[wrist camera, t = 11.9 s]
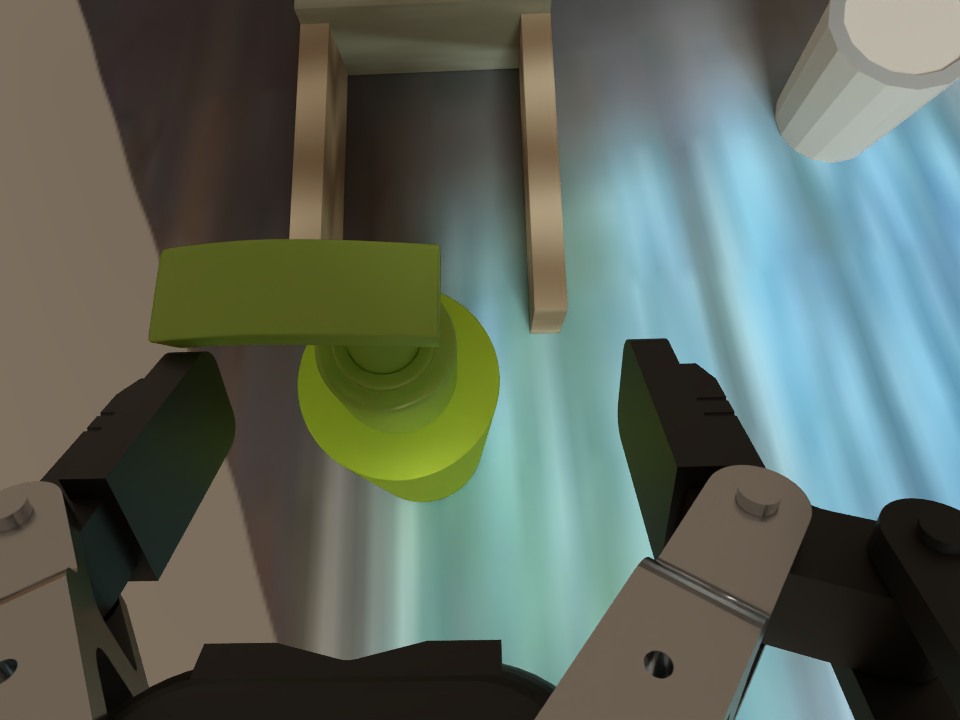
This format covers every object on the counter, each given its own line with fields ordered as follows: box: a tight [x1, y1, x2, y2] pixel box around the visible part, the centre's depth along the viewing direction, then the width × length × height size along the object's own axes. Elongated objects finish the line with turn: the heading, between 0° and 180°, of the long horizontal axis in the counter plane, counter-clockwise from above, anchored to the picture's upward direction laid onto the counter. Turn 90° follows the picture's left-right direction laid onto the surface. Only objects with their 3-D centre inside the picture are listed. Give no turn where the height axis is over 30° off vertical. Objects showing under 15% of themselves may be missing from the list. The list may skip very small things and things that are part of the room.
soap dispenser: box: [149, 239, 500, 502], centre depth 21 cm, size 6×7×20 cm
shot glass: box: [775, 0, 960, 163], centre depth 30 cm, size 7×7×7 cm
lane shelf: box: [289, 0, 568, 334], centre depth 31 cm, size 18×13×5 cm
